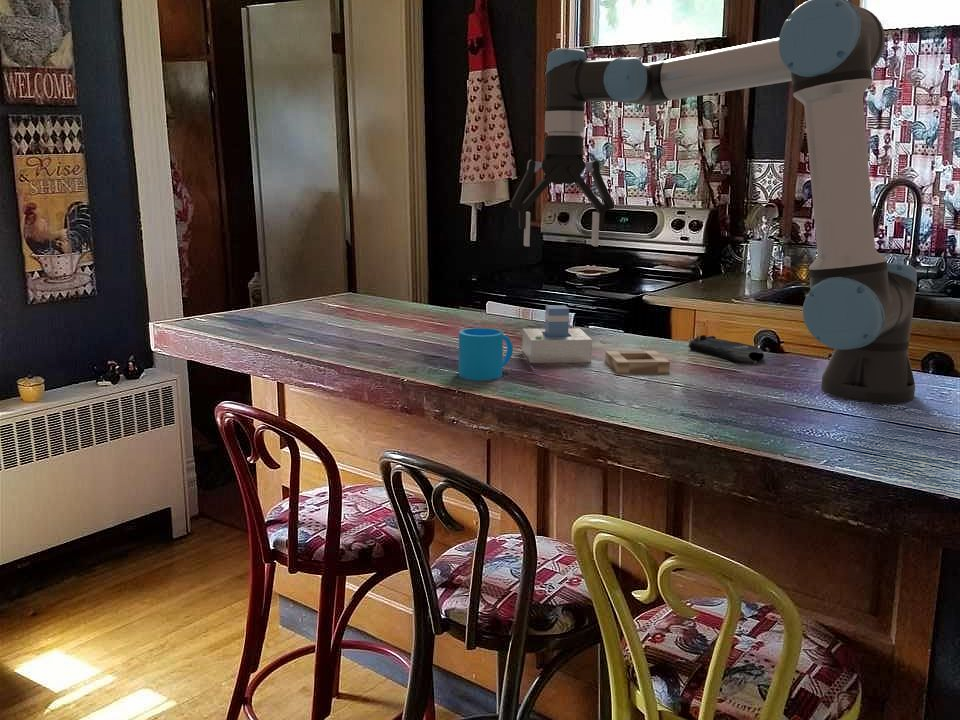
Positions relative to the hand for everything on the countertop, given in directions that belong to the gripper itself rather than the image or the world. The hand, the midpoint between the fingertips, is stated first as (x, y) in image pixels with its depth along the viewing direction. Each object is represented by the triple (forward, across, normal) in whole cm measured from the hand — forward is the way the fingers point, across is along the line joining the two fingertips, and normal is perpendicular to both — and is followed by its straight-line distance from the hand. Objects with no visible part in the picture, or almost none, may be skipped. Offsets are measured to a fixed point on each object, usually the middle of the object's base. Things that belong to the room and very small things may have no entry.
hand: (560, 246), depth 180 cm
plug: (+22, 0, 0) cm, 22 cm away
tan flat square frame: (+23, -14, +10) cm, 28 cm away
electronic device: (+23, -36, 0) cm, 43 cm away
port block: (+23, 0, 0) cm, 23 cm away
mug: (+23, +15, +12) cm, 30 cm away
